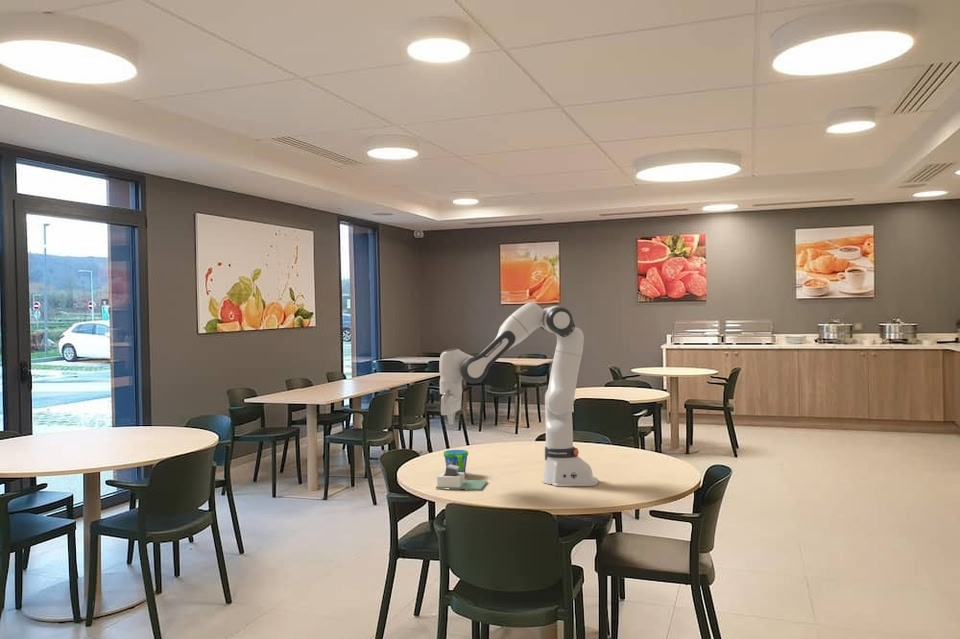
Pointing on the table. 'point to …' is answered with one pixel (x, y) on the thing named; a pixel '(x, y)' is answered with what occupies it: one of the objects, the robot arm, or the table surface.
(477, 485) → the header board
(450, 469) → the plug
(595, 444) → the table surface
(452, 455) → the snack cup
